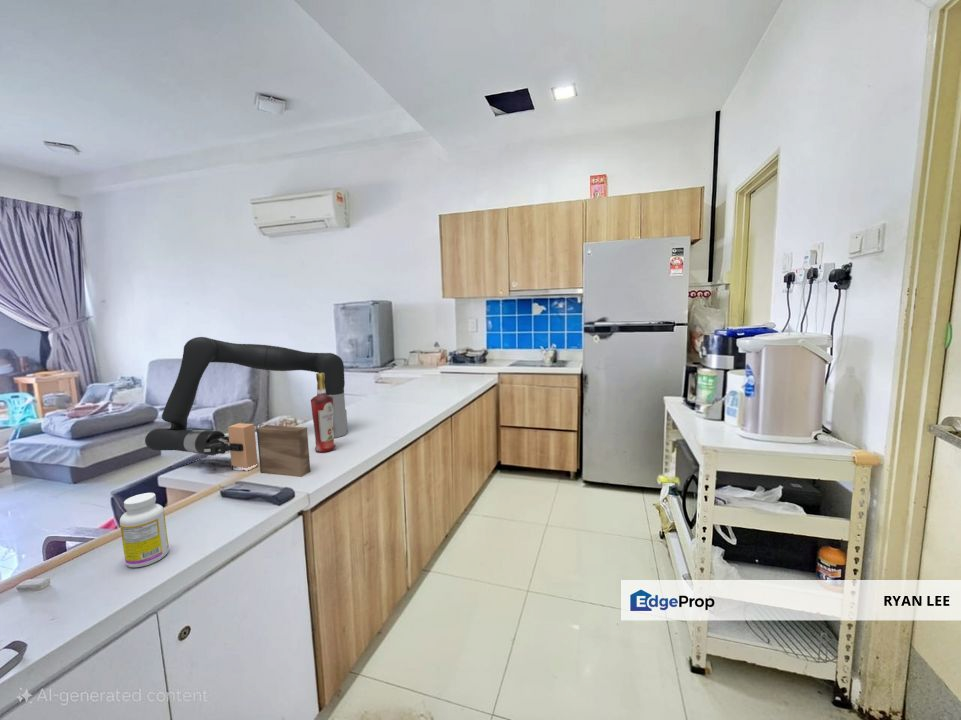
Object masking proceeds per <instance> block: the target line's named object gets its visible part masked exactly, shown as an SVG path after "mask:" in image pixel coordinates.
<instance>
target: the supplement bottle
mask: <svg viewBox="0 0 961 720" xmlns="http://www.w3.org/2000/svg"><path fill="white" fill-rule="evenodd" d="M156 501H157V497H156V494H155V493H154V492H146V493H145V492H144V493H140V494H136V495H133V496H130V497H128V498H126V499H125V500H124V501H123V506H124V509H125V510H126V512H124V513H123V514H122V515H121V517H120V519H119V529H120V534H121V541H122V546H123V547H122V549H123V554H124V561H125V564H126V566H127V567H128V568H141V567H147V566H148V565H152V564H155V563H156V562H158V561H160V560H161V559H163V558H164V557H165V556H166V555H167V554H168V553H169V551H170V547H169V540H168V533H167V524H166V516H165V508H164V507H163V506H162V505H161V504H159V503H156Z"/></svg>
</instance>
